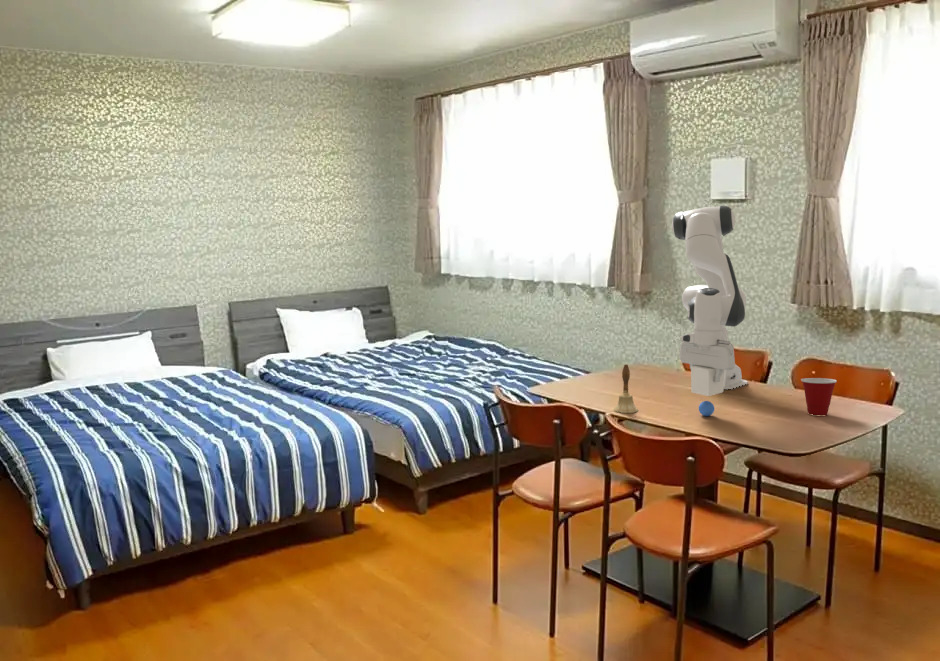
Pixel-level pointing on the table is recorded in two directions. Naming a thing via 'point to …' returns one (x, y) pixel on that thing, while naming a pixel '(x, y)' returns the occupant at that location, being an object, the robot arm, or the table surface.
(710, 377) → the white cube block
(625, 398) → the hand bell
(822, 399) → the plastic cup
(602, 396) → the table surface
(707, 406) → the ball
